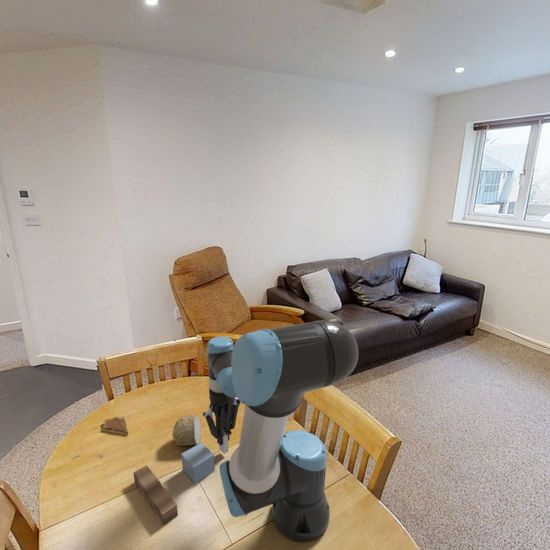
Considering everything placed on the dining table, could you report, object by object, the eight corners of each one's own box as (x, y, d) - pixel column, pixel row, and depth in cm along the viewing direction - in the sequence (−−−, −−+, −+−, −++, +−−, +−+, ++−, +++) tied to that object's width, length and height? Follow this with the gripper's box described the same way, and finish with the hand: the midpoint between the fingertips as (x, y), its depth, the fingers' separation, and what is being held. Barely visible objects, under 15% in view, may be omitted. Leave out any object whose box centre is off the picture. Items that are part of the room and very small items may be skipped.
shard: (128, 437, 122) (128, 432, 122) (104, 445, 118) (103, 440, 118) (124, 418, 131) (123, 414, 131) (101, 425, 127) (100, 421, 127)
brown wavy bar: (177, 515, 94) (176, 505, 93) (163, 525, 91) (162, 514, 90) (147, 474, 107) (146, 464, 106) (134, 482, 104) (133, 472, 103)
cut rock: (205, 435, 113) (175, 424, 112) (194, 456, 116) (165, 446, 115) (211, 413, 122) (183, 403, 121) (200, 434, 125) (174, 424, 124)
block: (214, 471, 108) (214, 454, 106) (194, 484, 104) (193, 467, 102) (202, 457, 113) (201, 442, 111) (182, 470, 108) (181, 454, 107)
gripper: (231, 373, 114) (233, 434, 121) (196, 389, 106) (199, 454, 112) (246, 383, 109) (247, 446, 116) (210, 401, 101) (213, 468, 107)
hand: (223, 450), depth 114 cm, fingers closed
